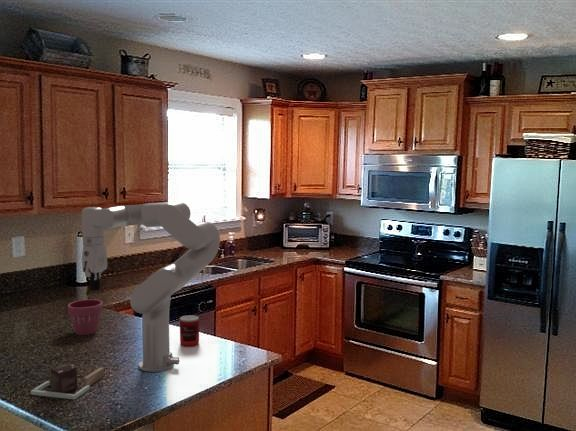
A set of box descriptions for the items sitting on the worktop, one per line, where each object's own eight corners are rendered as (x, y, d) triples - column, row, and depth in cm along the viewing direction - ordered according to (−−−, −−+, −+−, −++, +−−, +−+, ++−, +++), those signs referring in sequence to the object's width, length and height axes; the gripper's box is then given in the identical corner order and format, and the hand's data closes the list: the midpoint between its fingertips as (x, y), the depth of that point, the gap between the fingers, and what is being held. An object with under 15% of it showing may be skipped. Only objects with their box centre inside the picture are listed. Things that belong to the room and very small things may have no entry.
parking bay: (90, 388, 188) (90, 385, 188) (74, 399, 180) (74, 395, 179) (47, 384, 191) (47, 380, 191) (30, 394, 183) (30, 390, 183)
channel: (104, 375, 199) (103, 367, 199) (87, 387, 189) (87, 378, 189) (71, 372, 202) (70, 364, 201) (53, 383, 192) (53, 374, 192)
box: (68, 384, 192) (67, 363, 191) (77, 389, 188) (77, 367, 187) (51, 389, 187) (50, 368, 186) (60, 394, 183) (59, 372, 182)
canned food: (191, 339, 239) (191, 313, 237) (203, 344, 233) (202, 317, 232) (176, 343, 233) (175, 317, 232) (187, 348, 228) (187, 321, 226)
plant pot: (61, 334, 244) (60, 305, 243) (84, 325, 257) (83, 297, 256) (88, 338, 239) (87, 308, 238) (110, 329, 252) (109, 300, 251)
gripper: (91, 244, 201) (93, 295, 203) (113, 238, 215) (114, 286, 217) (72, 243, 202) (74, 294, 204) (95, 237, 217) (96, 285, 219)
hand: (95, 289), depth 211 cm, fingers closed
